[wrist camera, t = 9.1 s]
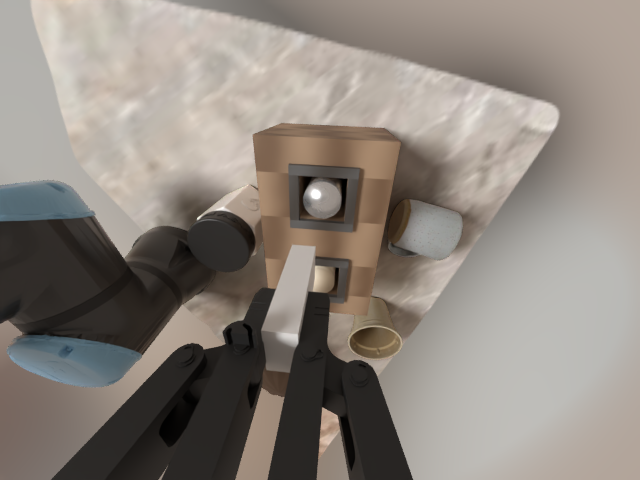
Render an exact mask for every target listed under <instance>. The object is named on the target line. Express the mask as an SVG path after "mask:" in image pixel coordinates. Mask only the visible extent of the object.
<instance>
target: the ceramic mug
mask: <svg viewBox="0 0 640 480" xmlns="http://www.w3.org/2000/svg"><path fill="white" fill-rule="evenodd" d="M462 230H463V220H462V217H461V215H460V214H459V213H458V212H456V211H453V210H450V209H446V208H442V207H439V206H436V205H432V204H428V203H425V202H422V201H418V200H413V199H405V200H403V201H401V202H400V203H399V204H398V205H397V207H396V208H395V210H394V212H393V214H392V216H391V219H390V222H389V226H388V249H389V250H390V251H391V252H392V253H393V254H395V255H398V256H401V257H415V256H418V255H423V256H426V257H429V258H431V259H434V260H443V259H445V258H446V257H448V256H449V255H450V254H451V253H452V252H453V251H454V249H455V248H456V246H457V244H458V242H459V240H460V238H461V235H462ZM392 244H394V245H392ZM395 245H396V246H398V247H396V246H395ZM399 247H400V248H399ZM401 248H403V249H401ZM404 249H406V250H404Z"/></svg>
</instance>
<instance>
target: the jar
mask: <svg viewBox="0 0 640 480" xmlns="http://www.w3.org/2000/svg"><path fill="white" fill-rule="evenodd" d="M187 240H188V245H189V248H190V250H191V252H192V253H193V255H194V256H195V257H196V259H197V260H199V261H200V262H201V263H202V264H203V265H205V266H207V267H208V268H211V269H213V270H216V271H220V272H234V271H237V270H239V269H241V268H243V267H244V266H245V265H246V264H247V262H248V260H249V259H250V257H251V256H253V255H256V253H257V252H258V250H259V248H260V246H261V245H262V243H263V232H262V222H261V213H260V203H259V193H258V190H257V189H255V188H254V187H252V186H251V185H246V186H244V187H242V188H240V189H238V190H235V191H233V192H231V193H229V194H227V195H225V196H224V197H223V198H222V199H220V200H219V201H218V202H217V203H215V204H214V205H213V206H212V207H210V208H209V209H208V210H207V211H205V212H204V213H203V214H202V215H200V216H199V217H198V218H197V221H196V222H195V223H194V224H193V225H192V226H191V227H190V229H189V231H188V235H187Z"/></svg>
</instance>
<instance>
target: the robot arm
mask: <svg viewBox="0 0 640 480" xmlns="http://www.w3.org/2000/svg"><path fill="white" fill-rule="evenodd" d="M94 215H95V212H94V211H91V210H90V209H89V208H88V206H87V205H86V204H85V203H84V201H83V200H82V199H81V197H80V196H79V195H78V194H77V192H76V191H75V190H74V189H73V188H72V187H71V186H69V185H67V184H65V183H62V182H59V181H54V180H43V181H33V182H23V183H15V184H7V185H0V323H3V322H4V321H7V320H8V321H10V322H11V323H12V324H13V325H14V326H16V327H17V328H18V329H19V330H20V331H21V332H22V334H23V335H22V336H18V337H17V338H15V339H14V340H13V341H12V343H11V344H10V345H9V346H8V348H7V354H8V355H10V356H9V357H10V359H11V360H12V361H14V362H15V363H16V364H18V365H19V366H21V367H23V368H25V369H26V370H28V371H30V372H33V373H35V374H38V375H40V376H42V377H45V378H48V379H51V380H54V381H57V382H61V383H65V384H70V385H74V386H81V387H104V386H108V385H111V384H114V383H115V382H117V381H118V380H120V379H121V378H122V377H123V376H124V375H125V374H126V373H127V372H128V371H129V369H130V368H131V367H132V366H133V365H134V364H135V363H136V362H137V361H138V360H140V359H141V357H142V355H143V354H144V353H145V351H146V350H147V349H148V347H149V346H150V345H151V343H152V342H153V341H154V340H155V338H156V337H157V336H158V335H159V333H160V332H161V331H162V329H163V328H164V327H165V326H166V324H167V323H168V322H169V320H170V319H171V318H172V316H173V315H174V314H175V313H176V311H177V310H178V309H179V308H180V306H181V305H182V304H184V303H186V302H187V301H189V300H190V299H192V298H193V297H194V296H195V295H197V294H199V293H201V292H203V291H204V290H205V289H206V288H207V287H208V286H209V284H210V283H211V282H212V280H213V279H214V277H215V274H216V270H213V269H211V268H208V267H207V266H205V265H203V264H202V263H201V262H200V261H199V260H197V259H196V257H195V256H194V255H193V253H192V252H191V250H190V248H189V245H188V240H187V235H188V232H186V231H184V230H181V229H178V228H174V227H168V226H161V227H155V228H152V229H150V230H149V231H147V232H146V233H144V234H143V235H141V236H140V237H139V238H138V239H137V240H136V241H135V243H134V244H133V247H132V249H131V251H130V252H129V253H128V255H127V256H126V257H125V258H123V257H122V255H121V254H120V253H119V251H118V250H117V248H116V247H115V245H114V244H113V242H112V241H111V239H110V238H109V237H108V235H107V234H106V232H105V231H104V229H103V228H102V226H101V225H100V223H99V222H98V220H97V219H96V217H95V216H94ZM315 252H316V246H303V245H292V247H291V249H290V252H289V255H288V258H287V260H286V263H285V266H284V269H283V271H282V274H281V277H280V280H279V282H278V285H277V288H276V289H271V288H261V289H260V290H259V291H258V292H257V293H256V294H255V296H254V298H253V301H252V303H251V305H250V307H249V310H248V311H247V314H246V316H245V318H244V320H243V321H236V322H234V323H231V324H230V325H229V326H227V327H226V328H225V330H224V331H223V336H224V339H225V343H226V344H225V345H222V346H219V347H214V348H209V349H205V350H203V347H202V346H200V345H199V344H194V343H191V344H187V345H184V346H182V347H180V348H178V349H177V350H176V351H174V352H173V353H172V354H171V355H170V356H169V357H168V358H167V359H166V361H164V363H163V364H162V365H161V366H160V367H159V368H158V369H157V370H156V371H155V372H154V373H153V374H152V375H151V376H150V377H149V378H148V379H147V380H146V381H145V382H144V383H143V385H141V386H140V388H139V389H138V390H137V391H136V392H135V393H134V394H133V395H132V396H131V397H130V398H129V399H128V400H127V401H126V402H125V403H124V404H123V405H122V406H121V408H119V409H118V410H117V412H116V413H115V414H114V415H113V416H112V417H111V418H110V419H109V420H108V421H107V422H106V423H105V424H104V425H103V426H102V427H101V428H100V429H99V430H98V432H97V433H95V434H94V436H93V437H92V438H91V439H90V440H89V441H88V442H87V443H86V444H85V445H84V446H83V447H82V448H81V449H80V450H79V451H78V452H77V453H76V454H75V455H74V457H72V458H71V460H70V461H69V462H68V463H67V464H66V465H65V466H64V467H63V468H62V469H61V470H60V471H59V472H58V473H57V474H56V475H55V476H54V477H53V478H52V480H158V479H159V478H160V476H161V475H162V474H163V472H164V471H165V469H166V467H167V466H168V467H167V469H166V471H165V473H164V475H163V478H162V480H235V478H236V475H237V471H238V468H239V464H240V461H241V458H242V454H243V451H244V447H245V443H246V440H247V436H248V433H249V429H250V426H251V422H252V419H253V416H254V412H255V409H256V405H257V402H258V398H259V395H260V391H261V388H262V384H263V371H264V368H265V364H266V370H270V371H279V372H288V373H289V378H288V383H287V388H286V393H285V398H284V403H283V408H282V412H281V417H280V422H279V427H278V432H277V437H276V441H275V446H274V451H273V456H272V461H271V466H270V471H269V475H268V480H316V478H317V465H318V453H319V440H320V427H321V414H322V407H323V408H325V409H327V410H329V411H331V412H333V413H334V414H336V415H338V420H339V426H340V431H341V436H342V442H343V447H344V453H345V458H346V464H347V468H348V474H349V480H413V478H412V475H411V472H410V469H409V467H408V464H407V461H406V458H405V455H404V452H403V449H402V447H401V444H400V441H399V438H398V435H397V432H396V429H395V427H394V424H393V421H392V418H391V415H390V412H389V410H388V407H387V404H386V401H385V398H384V395H383V392H382V389H381V387H380V384H379V381H378V378H377V375H376V373H375V371H374V369H373V368H372V367H371V366H370V365H369V364H368V363H366V362H364V361H361V360H353V361H350V362H348V363H347V362H345V361H342V360H340V359H338V358H337V357H335V356H334V355H333V354H332V353H331V352H330V350H329V348H328V345H327V336H328V323H329V310H330V299H329V297H328V294H327V293H322V292H313V287H314V281H315Z"/></svg>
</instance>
